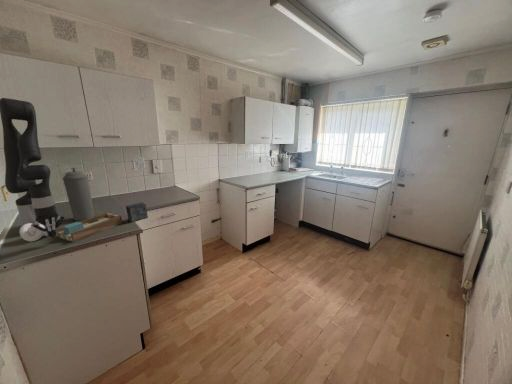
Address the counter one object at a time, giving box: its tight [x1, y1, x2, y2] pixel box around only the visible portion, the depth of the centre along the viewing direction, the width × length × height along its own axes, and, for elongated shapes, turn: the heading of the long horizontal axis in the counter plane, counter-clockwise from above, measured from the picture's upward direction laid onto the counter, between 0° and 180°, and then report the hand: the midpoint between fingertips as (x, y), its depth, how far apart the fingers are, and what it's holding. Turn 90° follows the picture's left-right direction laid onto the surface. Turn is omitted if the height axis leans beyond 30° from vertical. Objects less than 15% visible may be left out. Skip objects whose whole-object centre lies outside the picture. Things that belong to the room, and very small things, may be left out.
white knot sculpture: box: [18, 223, 49, 242], centre depth 113 cm, size 11×12×9 cm
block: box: [62, 221, 84, 235], centre depth 115 cm, size 5×7×4 cm
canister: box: [62, 167, 95, 222], centre depth 137 cm, size 13×13×35 cm
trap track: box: [55, 212, 123, 243], centre depth 124 cm, size 14×27×5 cm, turn 158°
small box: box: [125, 202, 149, 223], centre depth 140 cm, size 11×6×10 cm, turn 141°
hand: (52, 236), depth 107 cm, fingers closed
